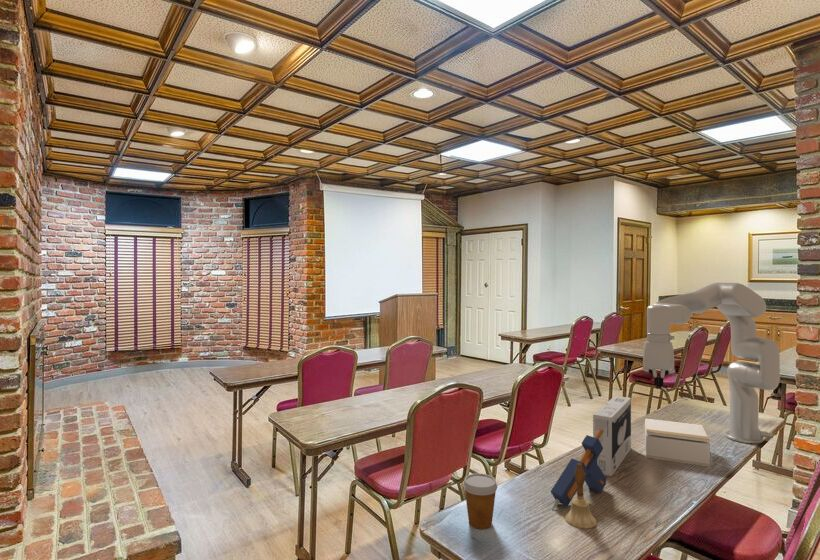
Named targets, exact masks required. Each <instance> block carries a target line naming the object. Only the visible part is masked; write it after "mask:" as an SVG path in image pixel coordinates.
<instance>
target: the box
mask: <svg viewBox="0 0 820 560" xmlns="http://www.w3.org/2000/svg"><path fill="white" fill-rule="evenodd" d="M644 446H645V447H644V448H645V456H646V458H648V459H649V458H650V459H654V460H661V461H666V462H667V461H669V462H675V463H682V464H689V465H693V466H703V467H708V468H709V467H711V443H710V441H709V442H703V441H695V440H687V439H679V438H672V437H664V436H656V435H648V434H647V431H646V423H645V422H644Z"/></svg>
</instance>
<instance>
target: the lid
mask: <svg viewBox="0 0 820 560" xmlns="http://www.w3.org/2000/svg"><path fill="white" fill-rule="evenodd" d="M645 423H646V431H647V434H648V435H656V436H664V437H672V438H679V439H687V440H695V441H703V442H709V443H710V438H709V436H708V435H707V433H706V431H705V429H704V426H703V425H702V424H698V423H697V424H696V423H694V424H693V423H689V422H688V423H687V422H678V421H672V420H671V421H670V420H661V419H653V418H652V419H651V418H645V421H644V424H645Z"/></svg>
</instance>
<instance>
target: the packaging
mask: <svg viewBox="0 0 820 560" xmlns="http://www.w3.org/2000/svg"><path fill="white" fill-rule="evenodd" d="M599 429H602V430H603V431H604V432H603V434H602V435H601V437H600V438H599V441H600V443H601V445H602V447H603V450H602V451H601V453H600V455H599V457H598V459H597V464H598V466H599V468H600V469H601V471H602V472H603V474H605V476H608V475H609V476H608V477H612V476H613V475H614V474H615V472H616V471H617V470H618V468H619V467H620V466H621V464H622V463H623V461H624V460H625V458H626V457H627V456H628V454H629V453H630V451H631V450H632V398H631V397H628V396H627V397H626V396H621V395H614V396H613V397H612V398H610V399H609V401H606V403H605V404H604V405H603V406H601V407H600V408H599V409H598V410H597V411H596V412H595V413H594V414H593V415H592V430H593V431H592V433H593V434H592V437H595V436H596V434H597V432H598V431H599Z"/></svg>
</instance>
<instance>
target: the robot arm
mask: <svg viewBox="0 0 820 560" xmlns="http://www.w3.org/2000/svg"><path fill="white" fill-rule="evenodd" d="M715 307H716V308H717V311H719V312H720V313H721V314H723V316H725V318H726V319H727V320H728V323H729V326H730V350H731V354H732V355H733V356H734V357H736V358H739V359H743V360H749V362H748V361H741V360H739V361H738V360H736V361H733V362H731V363H730V364H728V366H727V369H726V374H727V380H728V384H729V386H728V387H729V430H727V431H725V434H724V435H725V437H726V438H727V439H730V440H731V441H732V440H733V441H736V442H739V443H745V444H751V443H752V444H751V445H753V444H762V443H763V442H764V438H767V439H773V438H774V433H772V432H768V431H765V430H764V431H762V430H760V427H759V407H760V406H759V402H760V401H759V395H758V393H757V390H756V389H759V390H765V391H774V390H776V389H777V388H778V387H779V385H780V380H781V373H780V372H781V366H780V365H781V364H780V363H781V360H780V358H781V357H780V348H779V345H778V344H777V343H776V341H775V340H773V339H771V338H767V337H759V336H758V335H757V325H756V321H755V319H754V318H760V317H761V316H763V315H764V314H765V313H766V312H767V311H766V310H767V304H766V301H765V300H764V298H763V297H762V296H761V295H759V294H758V293H756V292H755V291H754V290H753V289H751V288H750V287H748V286H746V285H744V284H742V283H739V282H714V283H710V284H708V285H705V286H703V287H701V288H698V289H696V290H695V291H692V292H687V293H683V294H679V295H674V296H669V297H666V298H663V299H661V300H658V301H657V302H654V303H653V304H652V305H648V306H647V307H646V340H644V343H643V353H642V364H643V365H642V371H644V372H646V373H650V375H651V376H652V377H653V385H654V386H655V387H656V389H661V390H662V387H664V379H665V377H666V376H668V375H669V374H675V373H676V369H675V353H674V346H673V342H672V340H675V335H672V334H671V325H684V324H686V323H688V322H689V321H690V320H691V318H692V314H700V313H701V314H702V313H704V312H707V311H709V310H711V309H713V308H715ZM750 361H755V362H758V363H753V362H750ZM657 370H660V373H659V374H658V373H657Z"/></svg>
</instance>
